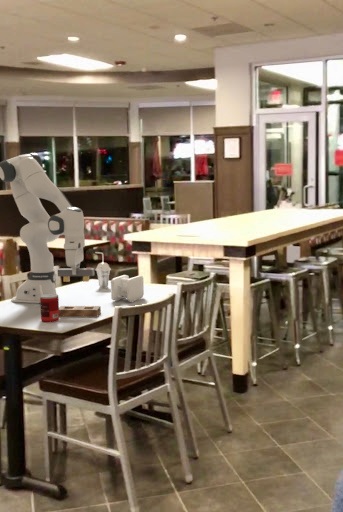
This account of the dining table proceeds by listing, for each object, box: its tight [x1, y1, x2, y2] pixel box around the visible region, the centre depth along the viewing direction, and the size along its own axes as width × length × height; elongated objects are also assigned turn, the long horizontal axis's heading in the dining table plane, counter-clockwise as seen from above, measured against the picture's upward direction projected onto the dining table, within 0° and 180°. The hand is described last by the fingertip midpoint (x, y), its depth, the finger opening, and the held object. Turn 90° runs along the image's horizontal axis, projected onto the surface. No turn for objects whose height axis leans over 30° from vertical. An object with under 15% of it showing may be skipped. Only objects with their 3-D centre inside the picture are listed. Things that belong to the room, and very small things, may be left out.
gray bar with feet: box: [57, 267, 95, 283], centre depth 311 cm, size 16×4×6 cm, turn 86°
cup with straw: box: [94, 251, 112, 289], centre depth 369 cm, size 8×9×20 cm
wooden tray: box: [59, 305, 102, 318], centre depth 305 cm, size 18×8×3 cm, turn 85°
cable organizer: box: [110, 274, 145, 303], centre depth 336 cm, size 15×11×12 cm
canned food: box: [39, 293, 60, 323], centre depth 294 cm, size 8×8×11 cm
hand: (75, 273), depth 311 cm, fingers closed on gray bar with feet, 4 cm apart
